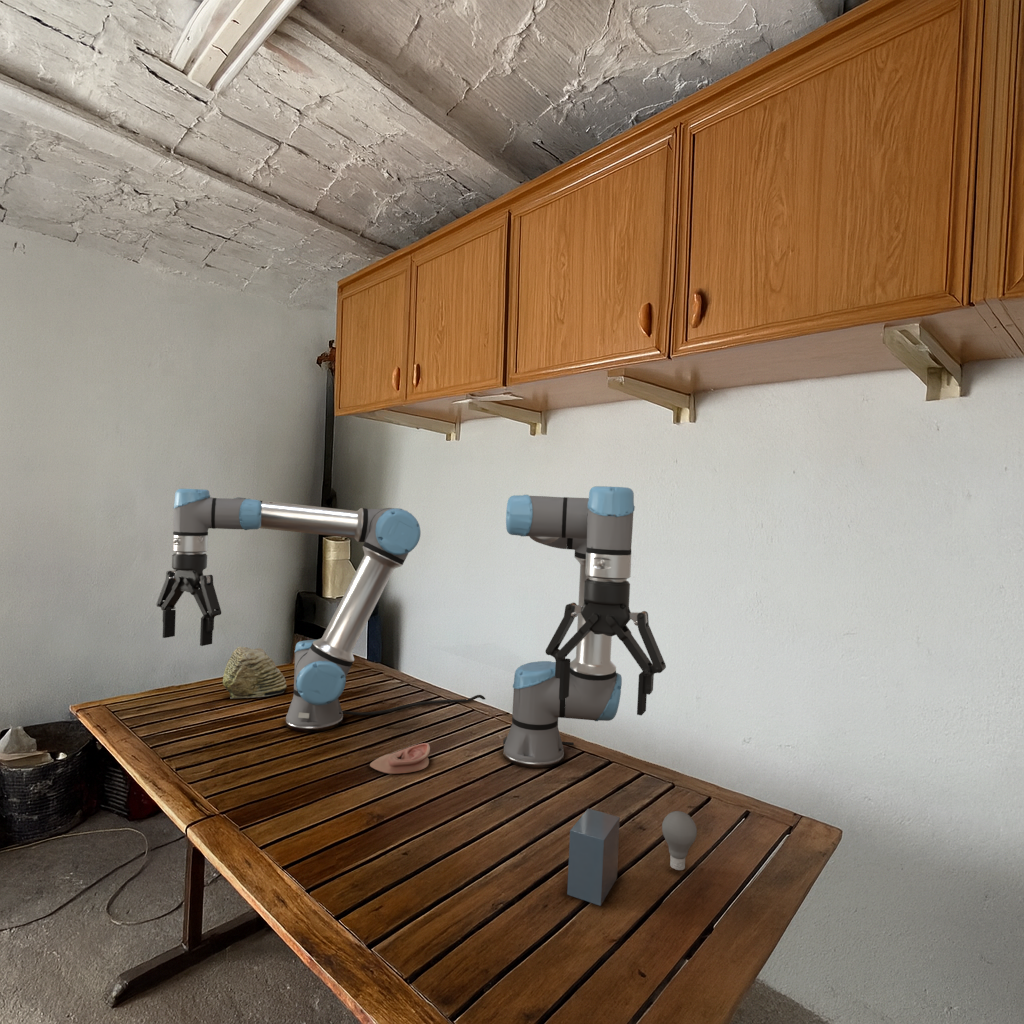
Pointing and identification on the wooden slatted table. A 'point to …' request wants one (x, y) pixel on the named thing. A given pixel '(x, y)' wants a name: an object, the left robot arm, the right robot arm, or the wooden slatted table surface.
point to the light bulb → (679, 837)
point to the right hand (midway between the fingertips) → (601, 705)
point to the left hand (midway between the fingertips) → (187, 640)
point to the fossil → (252, 674)
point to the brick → (593, 856)
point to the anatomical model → (404, 760)
